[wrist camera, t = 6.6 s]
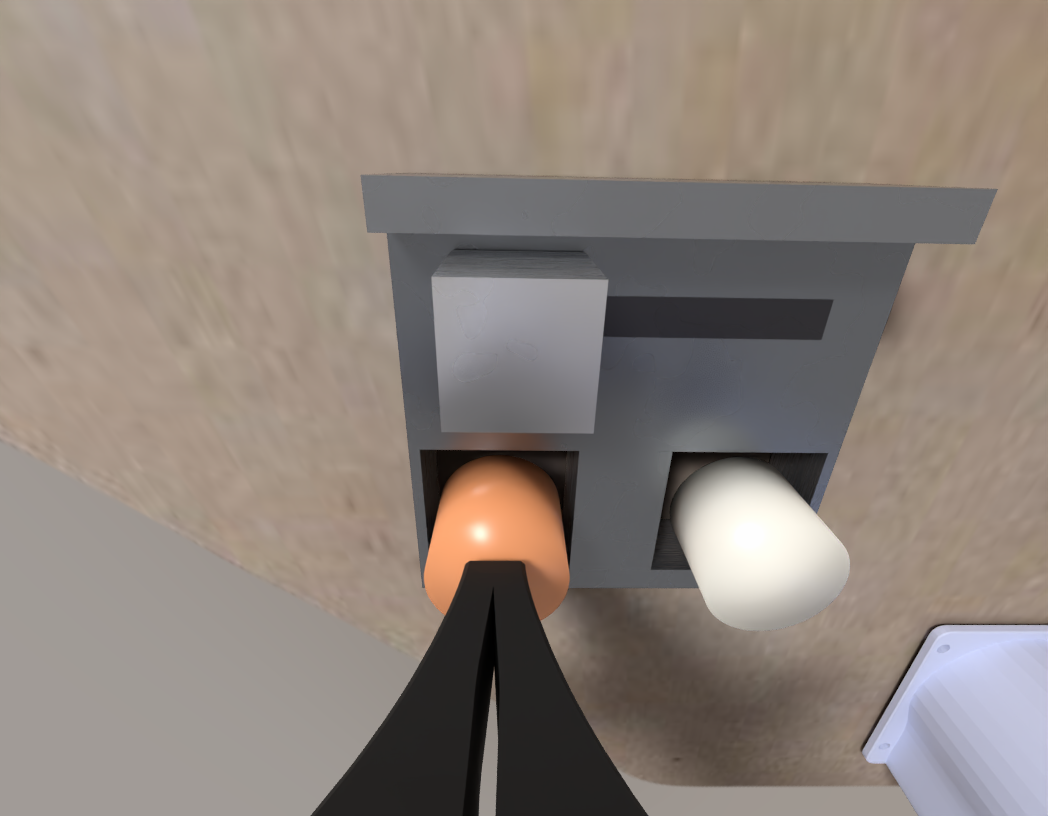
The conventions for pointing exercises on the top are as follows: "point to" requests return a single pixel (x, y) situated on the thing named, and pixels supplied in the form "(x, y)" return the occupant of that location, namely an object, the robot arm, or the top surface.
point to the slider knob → (518, 341)
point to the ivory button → (756, 545)
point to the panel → (671, 329)
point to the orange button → (499, 529)
